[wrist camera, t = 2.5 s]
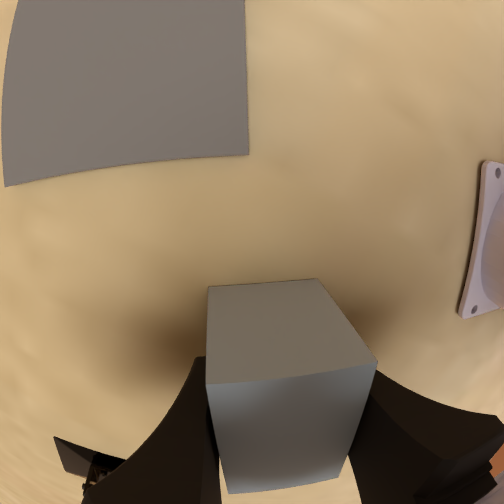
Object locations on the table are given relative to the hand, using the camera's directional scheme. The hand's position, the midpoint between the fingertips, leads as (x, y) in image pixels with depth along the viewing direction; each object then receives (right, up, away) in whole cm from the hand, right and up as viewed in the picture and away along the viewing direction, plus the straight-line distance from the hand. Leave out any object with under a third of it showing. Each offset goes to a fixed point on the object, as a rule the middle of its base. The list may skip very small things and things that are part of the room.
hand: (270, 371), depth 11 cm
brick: (0, 0, +1) cm, 1 cm away
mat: (-5, +11, -3) cm, 13 cm away
